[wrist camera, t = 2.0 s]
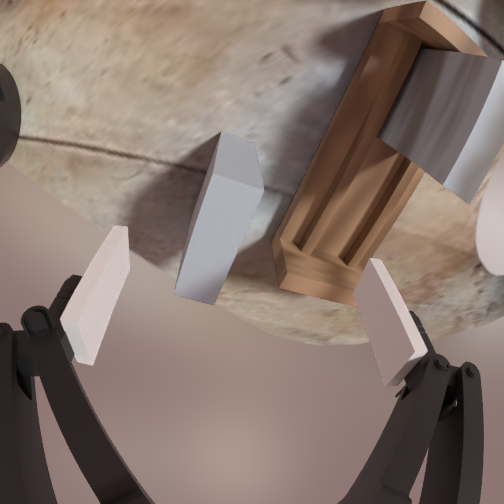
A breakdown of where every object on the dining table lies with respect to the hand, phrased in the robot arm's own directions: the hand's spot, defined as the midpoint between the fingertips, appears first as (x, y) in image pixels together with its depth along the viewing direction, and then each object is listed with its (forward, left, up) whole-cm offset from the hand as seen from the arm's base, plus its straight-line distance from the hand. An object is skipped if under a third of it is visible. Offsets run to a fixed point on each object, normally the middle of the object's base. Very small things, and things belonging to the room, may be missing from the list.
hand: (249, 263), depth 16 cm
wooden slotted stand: (+13, +6, -17) cm, 22 cm away
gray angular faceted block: (-1, -4, -18) cm, 18 cm away
